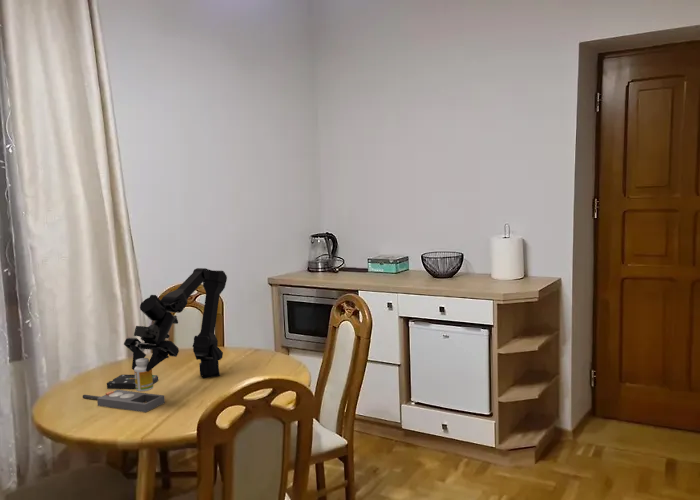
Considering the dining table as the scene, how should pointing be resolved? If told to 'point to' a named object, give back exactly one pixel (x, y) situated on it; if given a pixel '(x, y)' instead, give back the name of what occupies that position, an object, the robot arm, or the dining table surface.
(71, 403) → the dining table surface
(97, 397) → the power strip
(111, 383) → the disk drive
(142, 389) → the supplement bottle
